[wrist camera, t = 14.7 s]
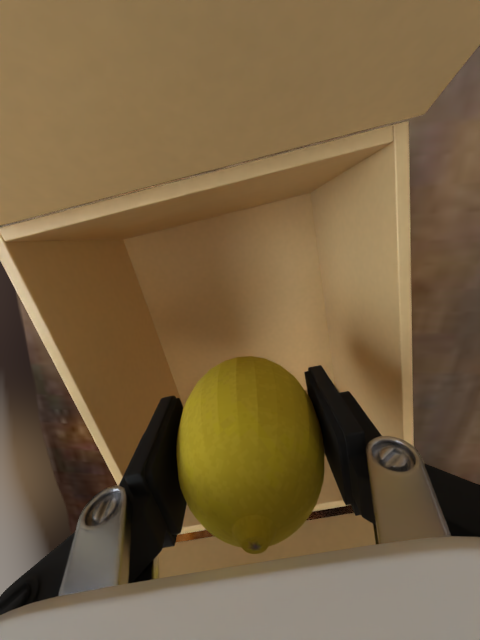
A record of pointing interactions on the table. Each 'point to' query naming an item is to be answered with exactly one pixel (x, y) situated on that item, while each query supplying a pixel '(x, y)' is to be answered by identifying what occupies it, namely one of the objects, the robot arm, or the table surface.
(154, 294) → the carton
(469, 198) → the table surface
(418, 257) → the table surface
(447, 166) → the table surface
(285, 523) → the lemon
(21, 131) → the flap
